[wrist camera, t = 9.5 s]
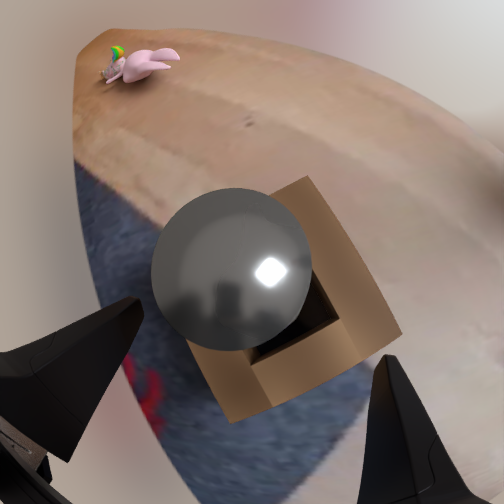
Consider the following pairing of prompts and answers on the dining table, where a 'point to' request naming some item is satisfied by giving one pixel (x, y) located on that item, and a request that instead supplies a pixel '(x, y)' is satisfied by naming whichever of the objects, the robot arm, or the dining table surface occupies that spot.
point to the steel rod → (231, 269)
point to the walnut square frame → (317, 339)
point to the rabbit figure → (137, 64)
